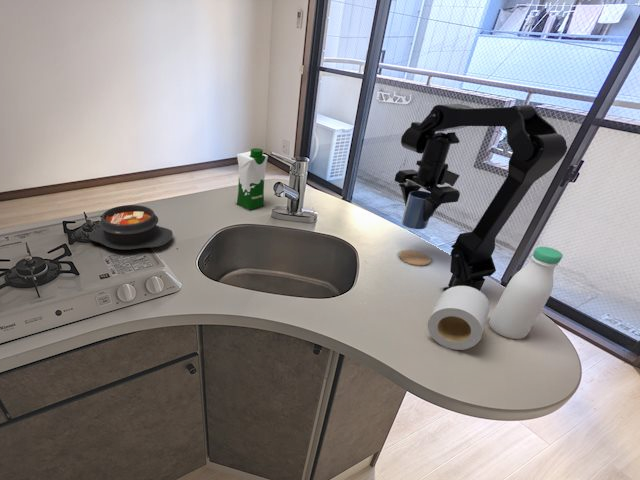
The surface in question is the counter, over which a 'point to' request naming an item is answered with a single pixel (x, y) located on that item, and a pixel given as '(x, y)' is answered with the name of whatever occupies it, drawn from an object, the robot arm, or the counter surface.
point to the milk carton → (251, 178)
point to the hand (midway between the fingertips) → (416, 215)
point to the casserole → (130, 228)
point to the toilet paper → (459, 317)
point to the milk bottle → (526, 295)
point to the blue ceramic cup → (415, 210)
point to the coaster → (414, 258)
